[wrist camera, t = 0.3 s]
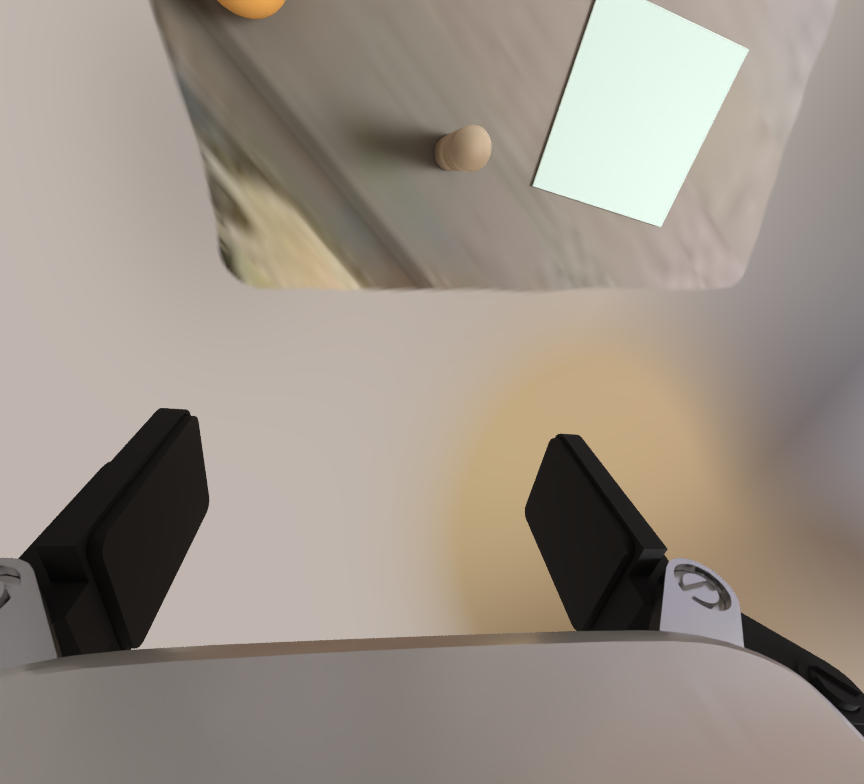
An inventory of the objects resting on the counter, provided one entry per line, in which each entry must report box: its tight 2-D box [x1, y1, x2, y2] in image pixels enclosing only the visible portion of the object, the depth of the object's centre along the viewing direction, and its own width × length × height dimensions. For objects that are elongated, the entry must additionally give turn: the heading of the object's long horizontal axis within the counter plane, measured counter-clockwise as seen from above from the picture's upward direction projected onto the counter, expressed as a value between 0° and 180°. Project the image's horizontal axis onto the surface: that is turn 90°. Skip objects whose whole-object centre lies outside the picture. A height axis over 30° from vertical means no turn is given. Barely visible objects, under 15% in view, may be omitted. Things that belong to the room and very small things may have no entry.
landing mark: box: [532, 0, 749, 227], centre depth 34 cm, size 14×14×1 cm
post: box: [434, 125, 491, 172], centre depth 30 cm, size 3×3×9 cm
